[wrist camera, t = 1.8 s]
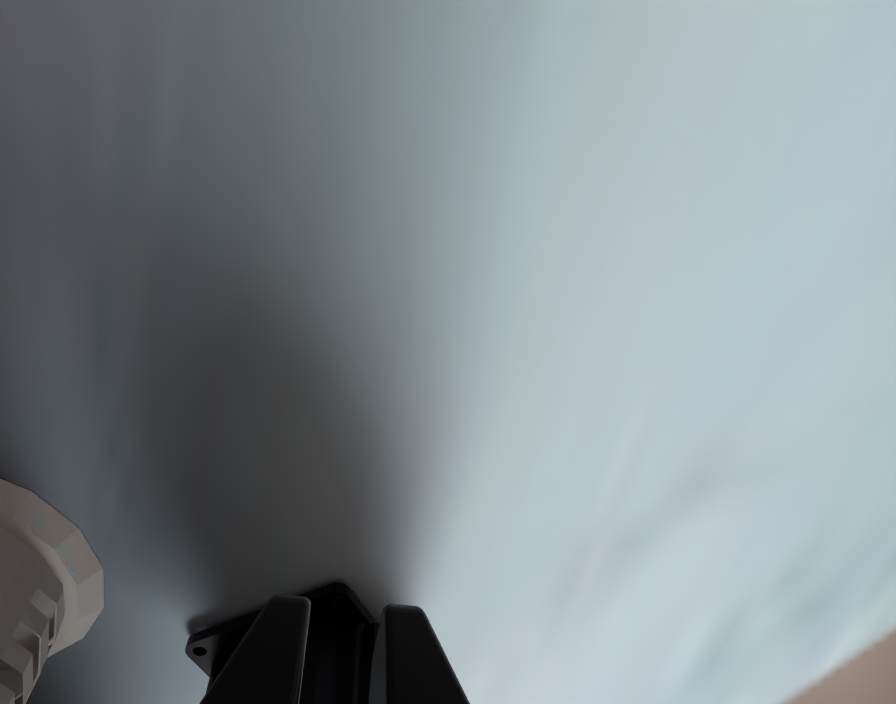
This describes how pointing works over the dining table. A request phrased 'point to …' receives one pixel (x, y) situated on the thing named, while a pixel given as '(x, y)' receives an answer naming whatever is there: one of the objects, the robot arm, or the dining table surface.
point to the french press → (41, 588)
